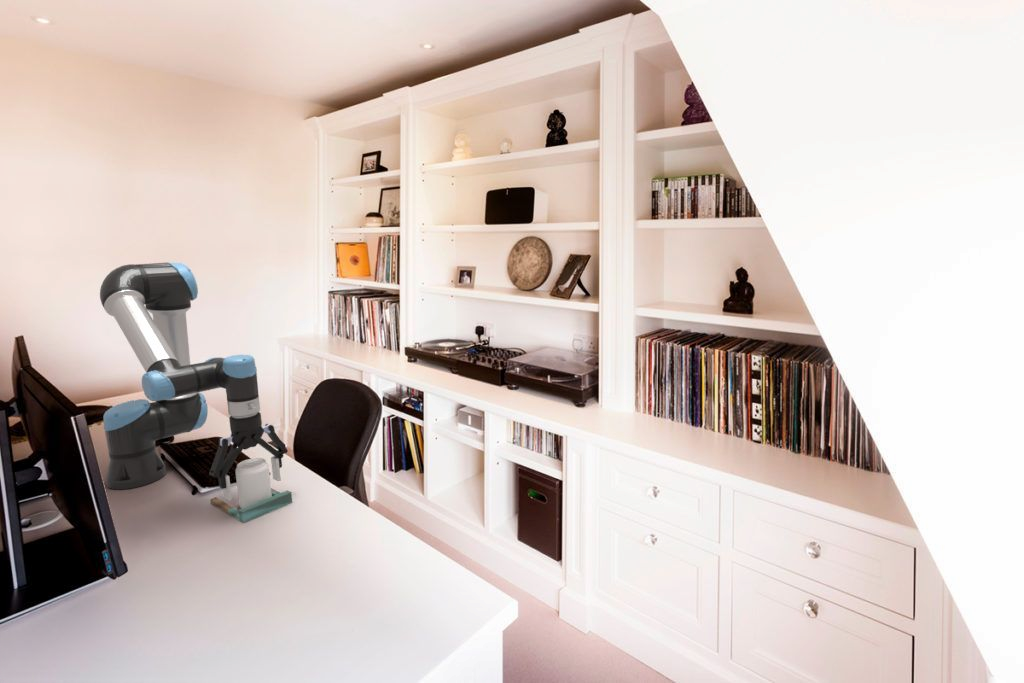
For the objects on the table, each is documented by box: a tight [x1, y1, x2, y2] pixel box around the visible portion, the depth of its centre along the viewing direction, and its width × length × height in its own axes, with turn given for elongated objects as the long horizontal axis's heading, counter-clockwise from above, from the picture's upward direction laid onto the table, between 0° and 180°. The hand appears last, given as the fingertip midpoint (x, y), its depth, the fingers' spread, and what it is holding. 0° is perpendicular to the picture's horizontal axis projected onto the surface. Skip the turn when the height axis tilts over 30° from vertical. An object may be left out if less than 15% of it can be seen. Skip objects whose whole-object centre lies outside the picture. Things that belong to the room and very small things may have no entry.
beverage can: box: [235, 457, 272, 509], centre depth 147 cm, size 8×8×12 cm
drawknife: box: [210, 487, 293, 524], centre depth 149 cm, size 18×14×3 cm
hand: (253, 488), depth 147 cm, fingers open, 13 cm apart
